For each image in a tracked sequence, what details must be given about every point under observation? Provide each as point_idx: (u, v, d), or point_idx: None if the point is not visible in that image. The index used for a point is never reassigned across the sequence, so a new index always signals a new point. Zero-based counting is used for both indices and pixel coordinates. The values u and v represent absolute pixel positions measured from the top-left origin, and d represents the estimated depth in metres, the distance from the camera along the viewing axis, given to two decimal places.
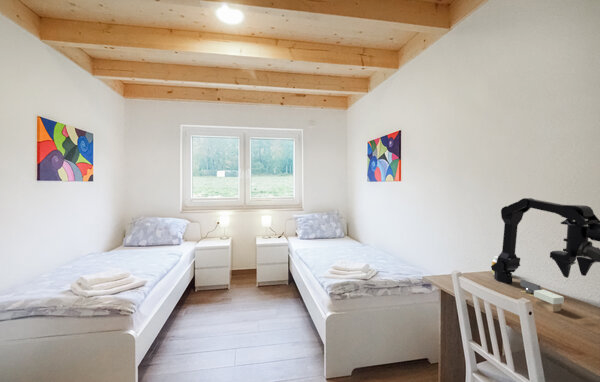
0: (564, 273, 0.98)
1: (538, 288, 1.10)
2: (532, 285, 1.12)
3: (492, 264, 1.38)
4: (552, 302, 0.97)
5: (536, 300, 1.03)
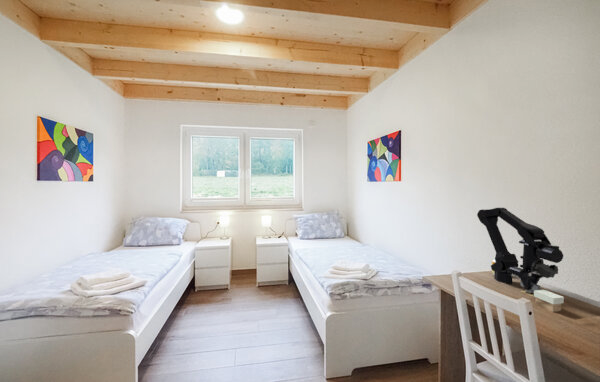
0: (525, 286, 1.13)
1: (538, 288, 1.10)
2: (532, 285, 1.12)
3: (492, 264, 1.38)
4: (552, 302, 0.97)
5: (536, 300, 1.03)
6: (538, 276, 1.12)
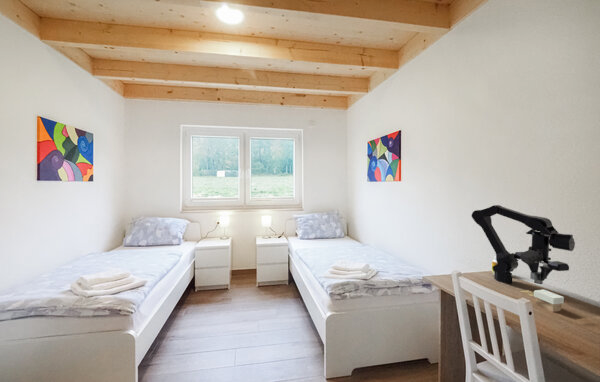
0: None
1: (532, 276, 1.14)
2: None
3: (492, 264, 1.38)
4: (552, 302, 0.97)
5: (536, 300, 1.03)
6: None
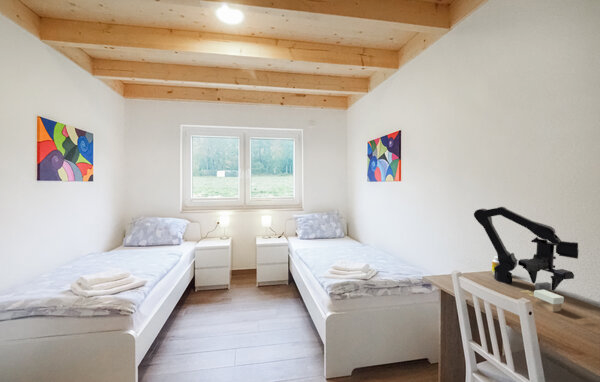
0: None
1: (537, 287, 1.15)
2: None
3: (492, 264, 1.38)
4: (552, 302, 0.97)
5: (536, 300, 1.03)
6: None
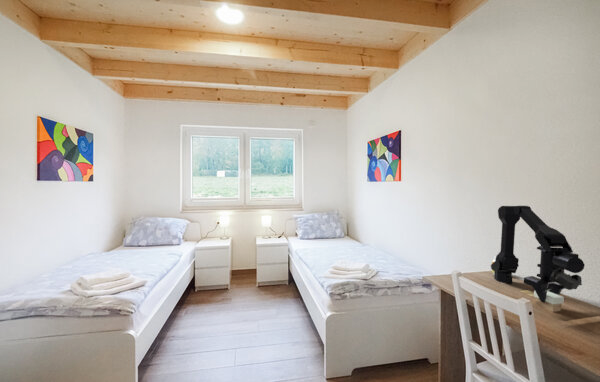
0: (541, 298, 1.00)
1: None
2: None
3: None
4: (552, 302, 0.97)
5: (536, 300, 1.03)
6: (560, 287, 1.00)
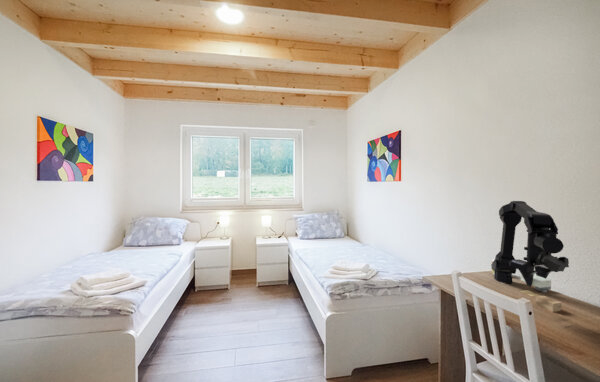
0: (527, 282, 0.97)
1: (537, 287, 1.15)
2: None
3: None
4: (539, 285, 0.94)
5: (536, 300, 1.03)
6: (547, 270, 0.96)
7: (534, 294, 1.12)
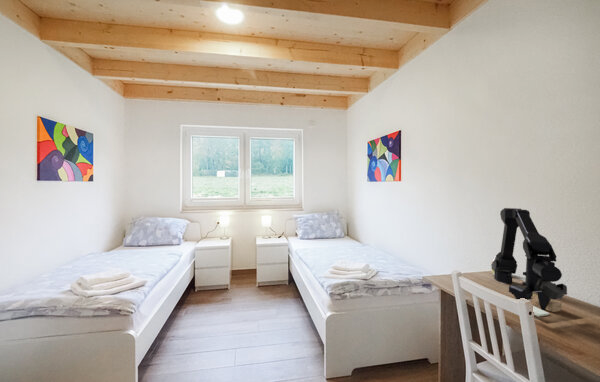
0: None
1: None
2: None
3: None
4: (537, 318, 0.95)
5: (536, 300, 1.03)
6: None
7: (534, 294, 1.12)
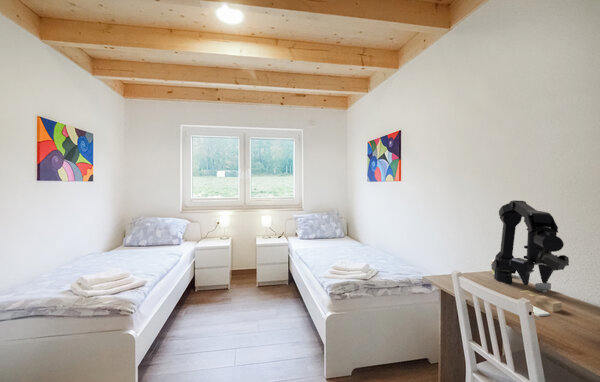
0: (524, 281, 0.97)
1: (537, 287, 1.15)
2: None
3: None
4: (537, 318, 0.95)
5: (536, 300, 1.03)
6: (551, 268, 0.97)
7: (534, 294, 1.12)
